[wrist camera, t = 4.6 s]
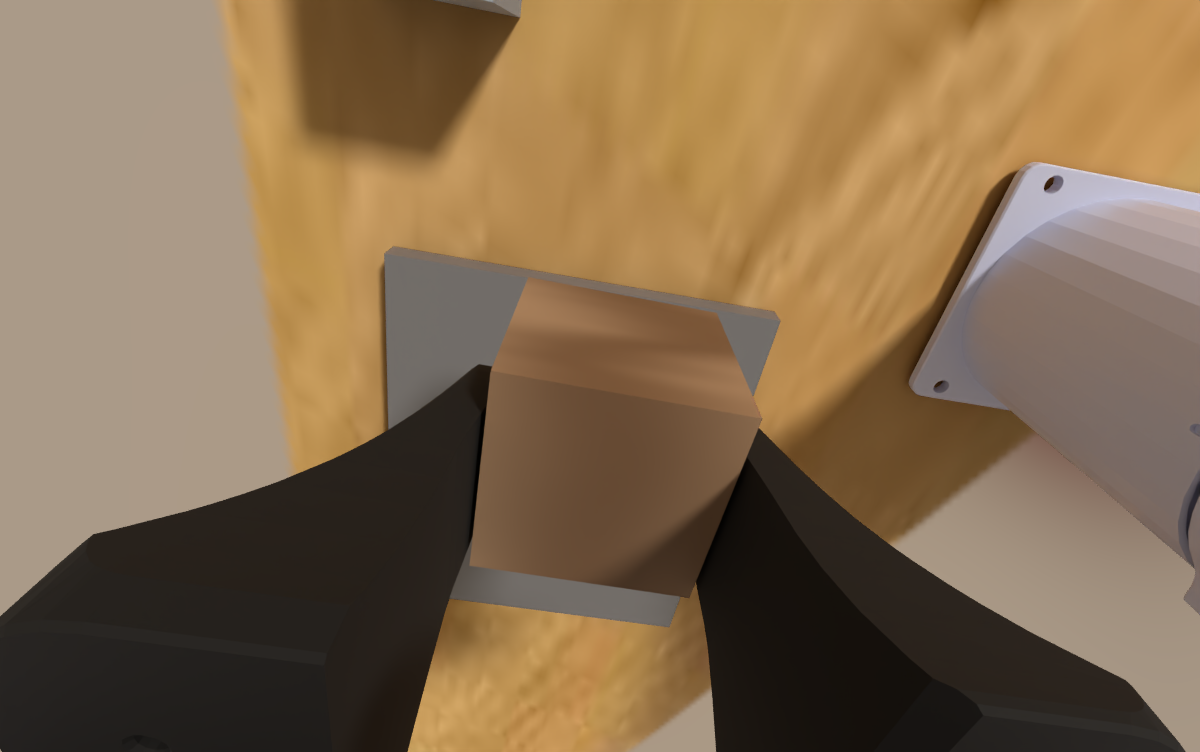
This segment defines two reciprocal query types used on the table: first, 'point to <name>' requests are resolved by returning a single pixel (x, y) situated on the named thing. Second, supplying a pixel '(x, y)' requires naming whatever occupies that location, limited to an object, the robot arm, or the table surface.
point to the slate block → (491, 5)
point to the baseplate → (473, 336)
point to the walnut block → (609, 440)
